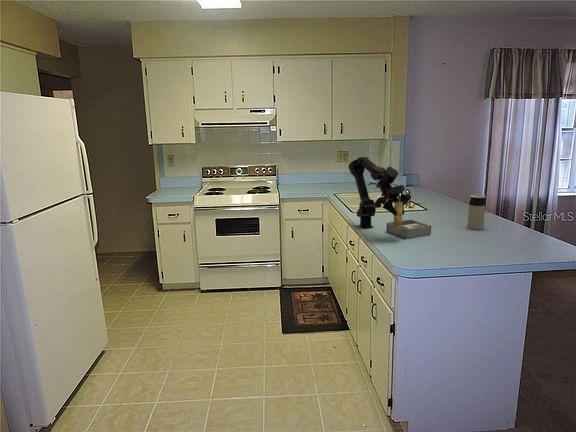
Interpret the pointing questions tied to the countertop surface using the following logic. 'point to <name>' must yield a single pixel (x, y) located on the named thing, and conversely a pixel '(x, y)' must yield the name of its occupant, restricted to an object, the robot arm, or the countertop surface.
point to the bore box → (409, 229)
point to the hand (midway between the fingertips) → (399, 214)
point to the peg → (398, 214)
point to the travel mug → (476, 212)
